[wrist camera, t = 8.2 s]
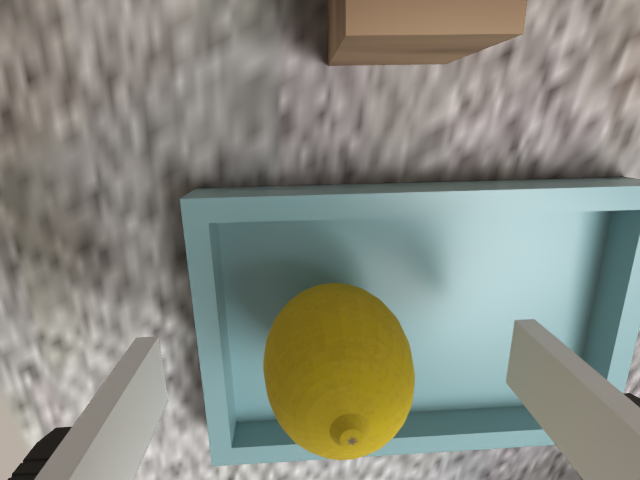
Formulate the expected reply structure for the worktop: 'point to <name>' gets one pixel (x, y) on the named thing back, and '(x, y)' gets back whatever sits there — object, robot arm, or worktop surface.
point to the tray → (414, 294)
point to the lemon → (338, 371)
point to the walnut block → (418, 29)
